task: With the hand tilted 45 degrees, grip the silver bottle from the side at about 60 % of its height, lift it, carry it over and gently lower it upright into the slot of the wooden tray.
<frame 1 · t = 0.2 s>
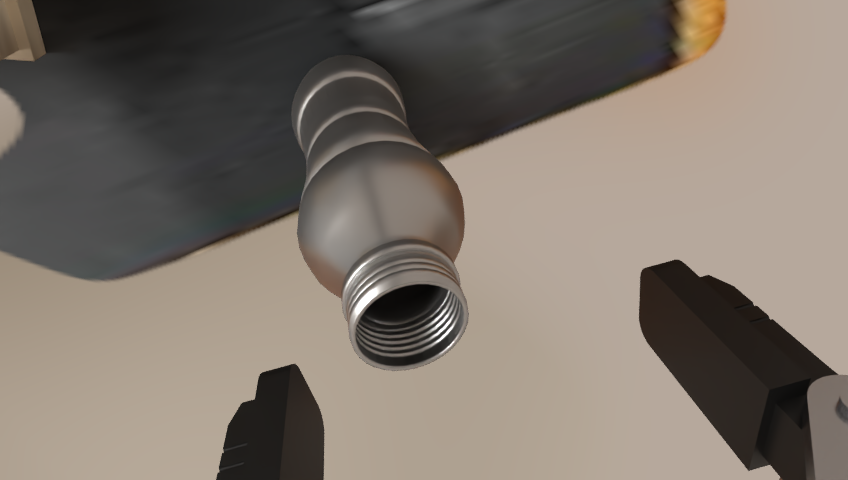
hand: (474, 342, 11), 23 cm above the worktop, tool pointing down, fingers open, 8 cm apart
silver bottle: (344, 99, 30), on the worktop
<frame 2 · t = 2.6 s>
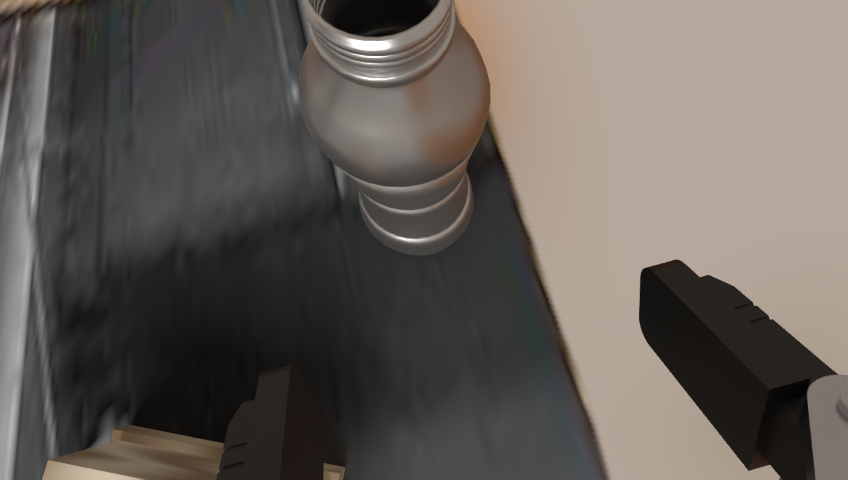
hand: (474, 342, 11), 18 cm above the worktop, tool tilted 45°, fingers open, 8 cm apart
silver bottle: (418, 212, 31), on the worktop
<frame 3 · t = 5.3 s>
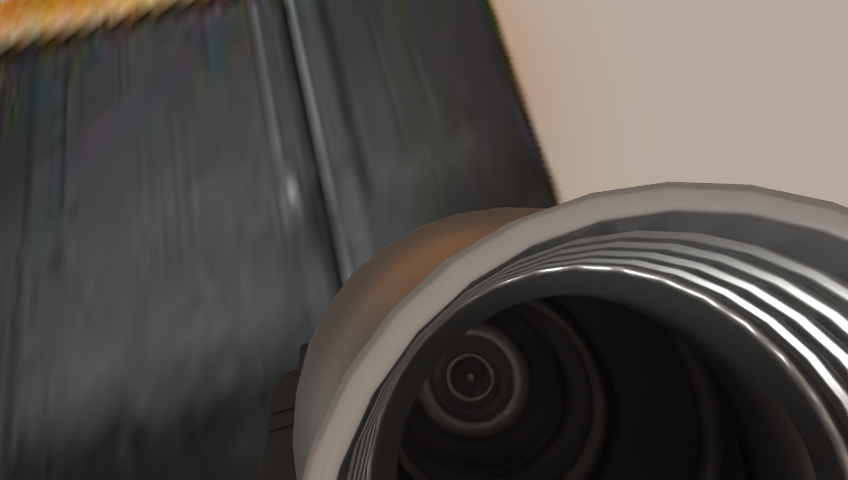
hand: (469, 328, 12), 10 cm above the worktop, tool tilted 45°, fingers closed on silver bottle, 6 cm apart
silver bottle: (468, 376, 21), on the worktop, touching gripper
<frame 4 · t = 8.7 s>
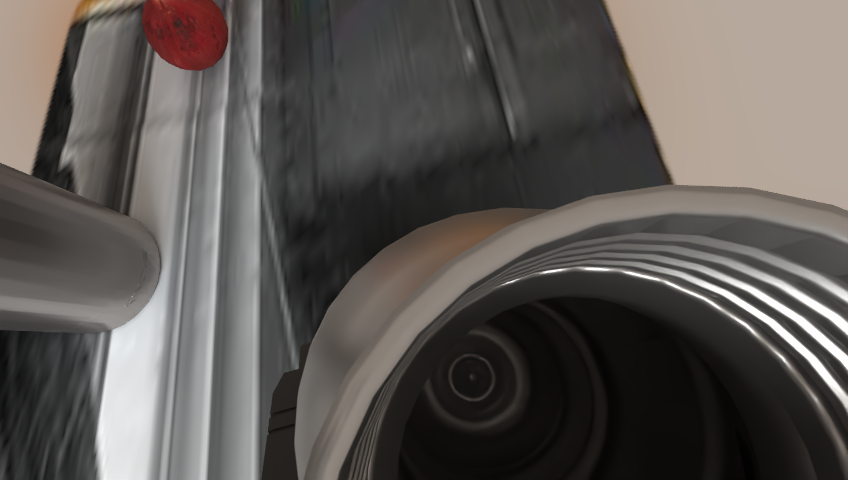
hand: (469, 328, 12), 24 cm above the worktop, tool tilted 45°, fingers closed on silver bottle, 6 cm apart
silver bottle: (470, 376, 21), point 14 cm above the worktop, touching gripper
onion: (210, 58, 41), on the worktop
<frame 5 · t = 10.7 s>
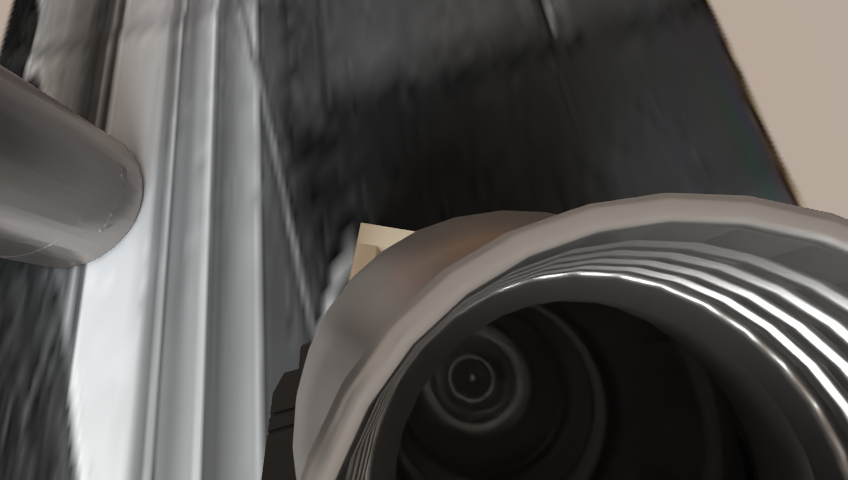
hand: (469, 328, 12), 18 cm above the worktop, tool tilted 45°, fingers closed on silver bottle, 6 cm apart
silver bottle: (470, 377, 21), point 7 cm above the worktop, touching gripper
wooden tray: (458, 364, 28), on the worktop
when the fingers open (13 cm above the worktop, at t = 12.3 s): silver bottle drops 1 cm, resting on wooden tray.
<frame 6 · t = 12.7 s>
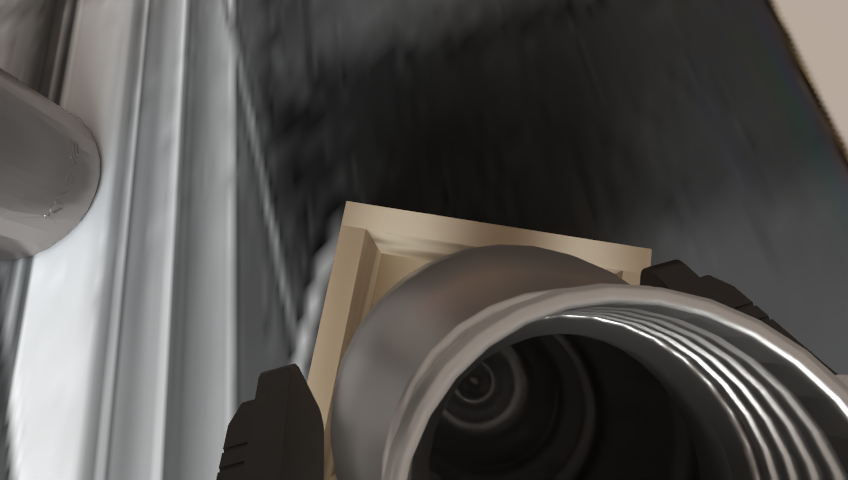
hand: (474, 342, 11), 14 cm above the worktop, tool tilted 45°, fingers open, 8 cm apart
silver bottle: (471, 379, 23), point 1 cm above the worktop, touching wooden tray
wooden tray: (464, 373, 24), on the worktop
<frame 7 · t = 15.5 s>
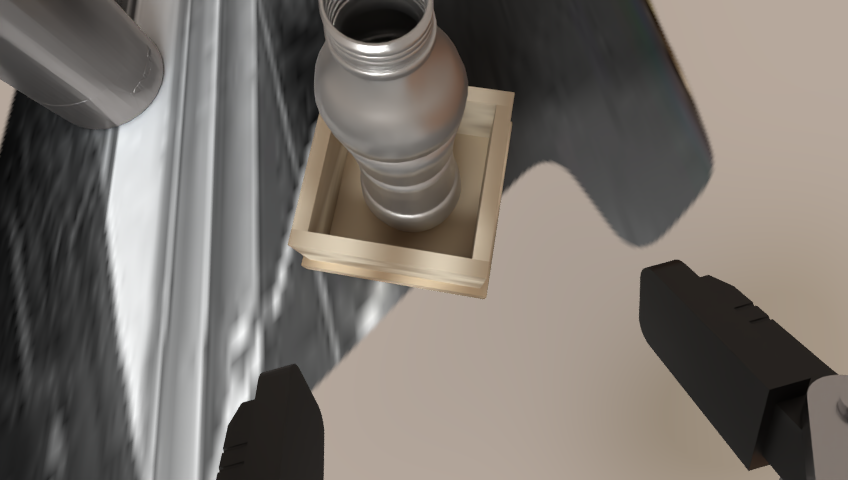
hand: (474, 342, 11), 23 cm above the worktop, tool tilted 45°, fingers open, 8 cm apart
silver bottle: (413, 195, 35), point 1 cm above the worktop, touching wooden tray
wooden tray: (410, 198, 36), on the worktop
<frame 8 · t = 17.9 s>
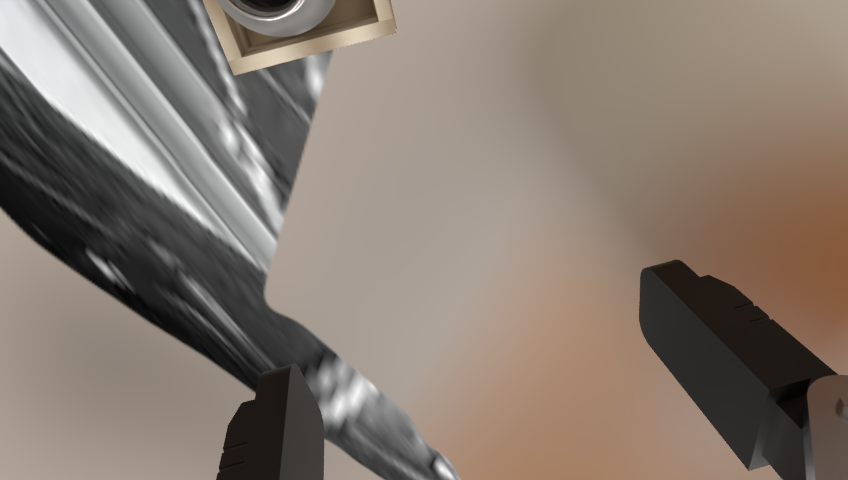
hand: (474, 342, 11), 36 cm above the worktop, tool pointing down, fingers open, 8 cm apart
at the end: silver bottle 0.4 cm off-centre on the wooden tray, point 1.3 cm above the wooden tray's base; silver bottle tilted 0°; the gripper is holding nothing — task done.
